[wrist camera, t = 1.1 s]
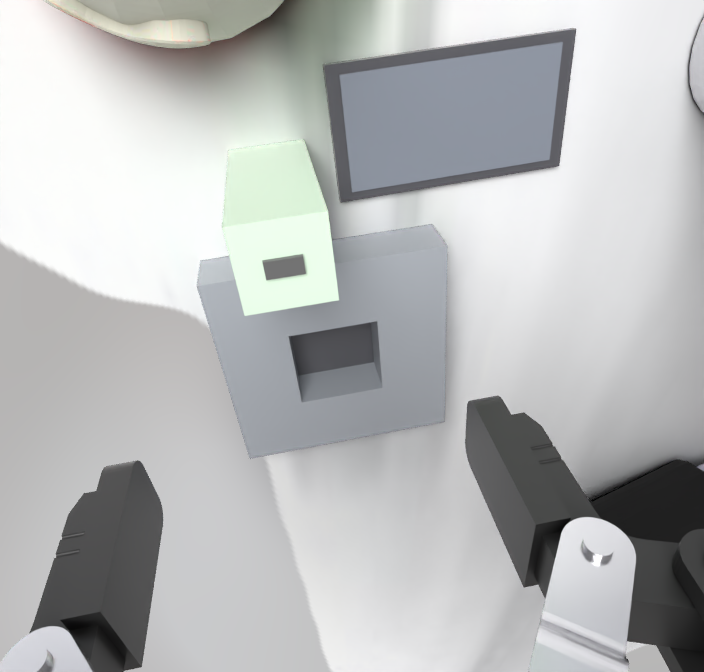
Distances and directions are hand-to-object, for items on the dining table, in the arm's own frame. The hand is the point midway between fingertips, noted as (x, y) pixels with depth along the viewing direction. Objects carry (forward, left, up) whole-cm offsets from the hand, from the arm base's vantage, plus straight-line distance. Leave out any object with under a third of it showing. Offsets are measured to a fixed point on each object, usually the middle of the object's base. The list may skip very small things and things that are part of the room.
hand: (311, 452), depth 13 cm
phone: (-10, -2, -21) cm, 23 cm away
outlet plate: (-2, +11, -20) cm, 23 cm away
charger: (0, 0, -20) cm, 20 cm away
